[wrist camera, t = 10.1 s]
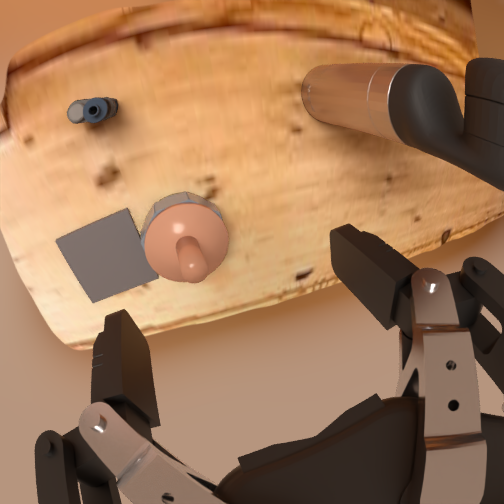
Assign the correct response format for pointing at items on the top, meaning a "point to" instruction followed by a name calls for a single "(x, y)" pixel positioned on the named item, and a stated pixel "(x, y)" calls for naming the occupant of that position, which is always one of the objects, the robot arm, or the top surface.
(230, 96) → the top surface
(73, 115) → the vaping device
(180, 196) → the bowl
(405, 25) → the top surface
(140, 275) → the mat
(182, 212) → the lid
